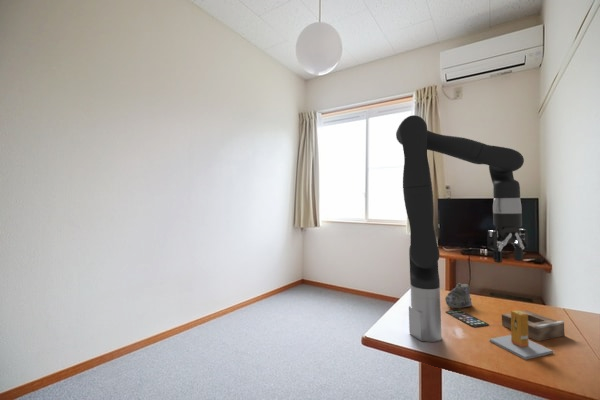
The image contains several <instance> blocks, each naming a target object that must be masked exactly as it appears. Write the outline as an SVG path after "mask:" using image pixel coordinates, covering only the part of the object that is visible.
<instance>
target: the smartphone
mask: <svg viewBox="0 0 600 400" xmlns="http://www.w3.org/2000/svg"><path fill="white" fill-rule="evenodd" d="M445 314H448V315H449V316H450V317H452V318H455V319H456V320H458V321H460V322H462V324H463V323H464V324H465V325H467V326H469V327H470V328H475V329H476V328H481V327H482V328H483V327H489V326H490V324H489V323H488V322H487V321H486V322H485V321H484V320H482V319H479V318H477V317H475V316H473V315H472V314H469V313H467V312H466V311H463V310H461V309H459V310H458V309H455V310H454V309H453V310H446V311H445Z"/></svg>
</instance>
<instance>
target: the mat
mask: <svg viewBox="0 0 600 400" xmlns="http://www.w3.org/2000/svg"><path fill="white" fill-rule="evenodd" d="M489 342H490V343H492V344H494V345H496V346H498V347H499V348H501V349H504V350H505V351H508V352H510V353H511V354H514V355H516V356H518V357H519V358H521V359H523V360H530V359H533V358H539V357H543V356H547V355H551V354H552V355H553V354H554V350H552V349H550V348H547V347H546V346H544V345H541V344H539V343H538V342H534V341H532V340H531V339H528V342H529V346H528V347H519V346H518V345H516V344H514V343H512V342H511V334H507V335H502V336H498V337H493V338H492V337H491V338H489Z"/></svg>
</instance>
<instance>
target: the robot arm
mask: <svg viewBox="0 0 600 400" xmlns="http://www.w3.org/2000/svg"><path fill="white" fill-rule="evenodd" d="M427 125H428V124H427V122H426V121H425V119H423V118H422V117H421V116H419V115H417V114H416V115H415V114H413V115H412V114H411V115H409V116H407V117H405V118H404V119H402V121H401V122H400V124H399V125H398V127H397V129H396V131H395V132H396V133H395V137H396V140H397V142H398V143H399V144H400V145H402V151H403V155H404V157H403V159H404V162H403V164H404V165H403V172H402V192H403V201H404V207H405V211H406V212H405V213H406V215H407V220H408V224H409V228H410V229H409V232H410V246H409V249H408V251H409V252H408V253H409V254H408V255H409V257H408V259H409V280H410V281H409V283H410V305H409V306H408V323H409V324H408V325H409V326H408V328H409V334H410V335H411V336H412V337H414V338H415V339H417V340H419V341H420V342H431V343H432V342H434V343H436V342H439V341H441V340H442V318H441V316H442V313H441V312H442V311H441V285H440V284H441V283H440V282H441V281H440V275H439V259H440V250H439V246H438V242H437V238H436V232H435V226H434V218H435V217H434V212H435V211H434V193H433V192H434V191H433V184H432V177H431V168H430V164H429V158H428V151H431V152H436V153H438V154H443V155H446V156H449V157H453V158H456V159H458V160H462V161H464V162H468V163H471V164H475V165H485V166H486V165H487V166H488V170H489V175H490V178H491V183H492V187H493V188H492V191H493V193H492V194H493V195H492V196H493V203H492V217H493V218H492V221H493V222H492V223H493V226H494V227H495V230H489V229H488V230H487V238H486V239H487V241H486V243H487V244H486V245H487V246H486V247H487V249H489V250H492V254H493V255H492V257H493V258H492V259H493V262H494V263H498V264H502V263H503V251H502V250H503V248H504V247H505V246H507V244H511V245H512V246H513V248H514V249H513V253H514V254H513V256H514V257H513V259H514V260H515V261H517V262H523V260H524V259H523V258H524V250H525V249H526V248H529V234H528V228H527V229H526V228H521V227H522V226H523V213H522V212H523V211H522V208H523V206H522V203H521V201H522V200H521V187H520V186H521V185H520V182H519V181H518V180H516V179H515V177H514V174H513V173H514V172H515V171H518V170H519V169H520V168H522V167H523V166H524V162H525V159H524V158H525V157H523V154H522V153H520V151H518V150H515V149H513V148H510V147H509V148H508V147H504V146H498V145H490V144H486V143H483V142H481V141H478V140H474V139H471V138H466V137H462V136H461V137H459V136H452V135H445V134H441V133H437V132H436V133H435V132H433V131H430V130H428V126H427Z"/></svg>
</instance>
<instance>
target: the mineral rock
mask: <svg viewBox="0 0 600 400" xmlns="http://www.w3.org/2000/svg"><path fill="white" fill-rule="evenodd" d="M470 289H471V288H470V285H469V284H467V283H461V282H458V283H457V284H456V286H455V288H452V289H451V290H450V291H449V293H447V295H446V296H445V298H444V300H445V303H446V305H447V307H448V308H452V309H453V308H454V309H461V308H466V307H471V306H473V303H472V298H471V292H470Z"/></svg>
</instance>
